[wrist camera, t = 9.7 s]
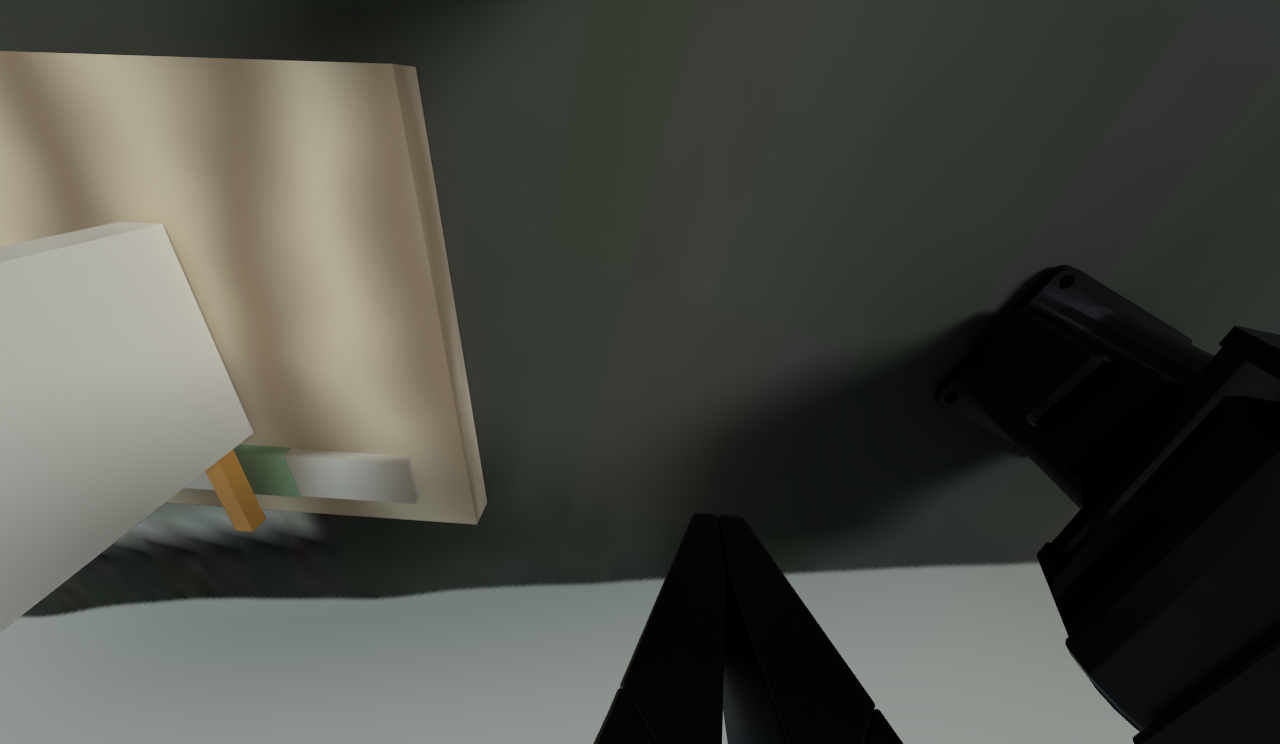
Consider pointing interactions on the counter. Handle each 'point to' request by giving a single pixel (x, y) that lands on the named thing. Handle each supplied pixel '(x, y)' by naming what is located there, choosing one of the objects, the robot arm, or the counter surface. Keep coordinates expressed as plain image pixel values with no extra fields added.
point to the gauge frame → (274, 255)
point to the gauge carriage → (104, 402)
